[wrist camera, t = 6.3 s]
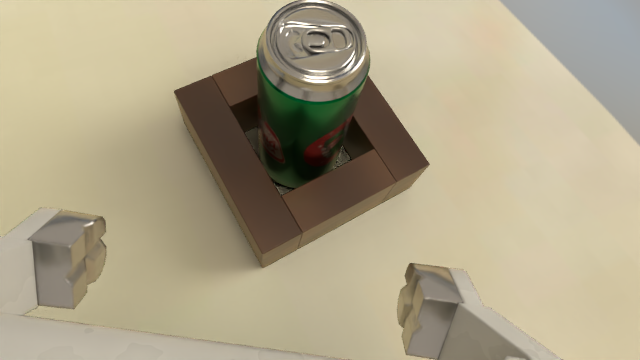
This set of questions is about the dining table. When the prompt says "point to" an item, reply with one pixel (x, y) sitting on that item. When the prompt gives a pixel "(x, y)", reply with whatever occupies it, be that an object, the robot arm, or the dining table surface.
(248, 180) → the can holder
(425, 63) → the dining table surface
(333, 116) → the soda can
